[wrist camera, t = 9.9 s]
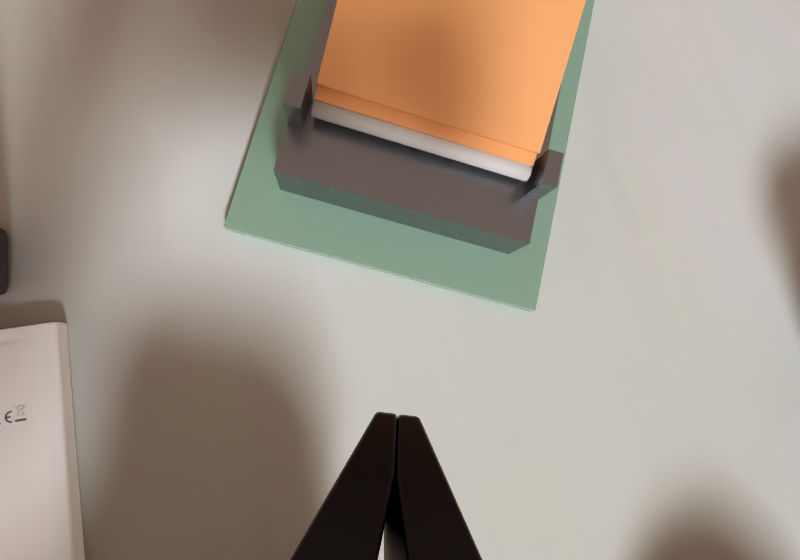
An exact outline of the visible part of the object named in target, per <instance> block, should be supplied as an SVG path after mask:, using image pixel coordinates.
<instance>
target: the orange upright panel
mask: <svg viewBox="0 0 800 560" xmlns="http://www.w3.org/2000/svg"><path fill="white" fill-rule="evenodd" d="M585 2H586V0H337V4H336V8H335V12H334V16H333V20H332V24H331V28H330V32H329V36H328V40H327V44H326V48H325V52H324V56H323V60H322V64H321V68H320V72H319V76H318V80H317V90H316V94H315V98H314V99H315V100H314V102H313V106H312V112H311V116H312V117H314V118H318V119H321V120H324V121H328V122H331V123H334V124H337V125H341V126H344V127H347V128H351V129H354V130H357V131H360V132H364V133H367V134H370V135H374V136H377V137H380V138H383V139H387V140H390V141H393V142H397V143H400V144H403V145H406V146H410V147H413V148H416V149H420V150H423V151H426V152H430V153H433V154H436V155H439V156H443V157H446V158H449V159H453V160H456V161H459V162H462V163H466V164H469V165H472V166H476V167H479V168H482V169H485V170H489V171H492V172H495V173H499V174H502V175H505V176H508V177H512V178H515V179H518V180H522V181H525V182H526V181H527V180H528V179H529V177H530V175H531V172H532V167H533V166H534V162H535V159H536V156H537V154H539V153H540V151H541V148H542V145H543V141H544V138H545V135H546V132H547V128H548V125H549V122H550V118H551V115H552V112H553V108H554V105H555V102H556V98H557V95H558V92H559V88H560V85H561V82H562V78H563V75H564V72H565V69H566V65H567V62H568V59H569V55H570V52H571V49H572V45H573V42H574V39H575V35H576V32H577V29H578V25H579V22H580V19H581V16H582V12H583V9H584V6H585Z"/></svg>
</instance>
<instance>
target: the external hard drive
mask: <svg viewBox="0 0 800 560" xmlns="http://www.w3.org/2000/svg"><path fill="white" fill-rule="evenodd" d="M0 560H85V552H84V539H83V526H82V513H81V499H80V486H79V474H78V460H77V448H76V433H75V421H74V406H73V394H72V381H71V368H70V355H69V339H68V327H67V323H60V322H50V323H41V324H34V325H28V326H21V327H14V328H7V329H0Z"/></svg>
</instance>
